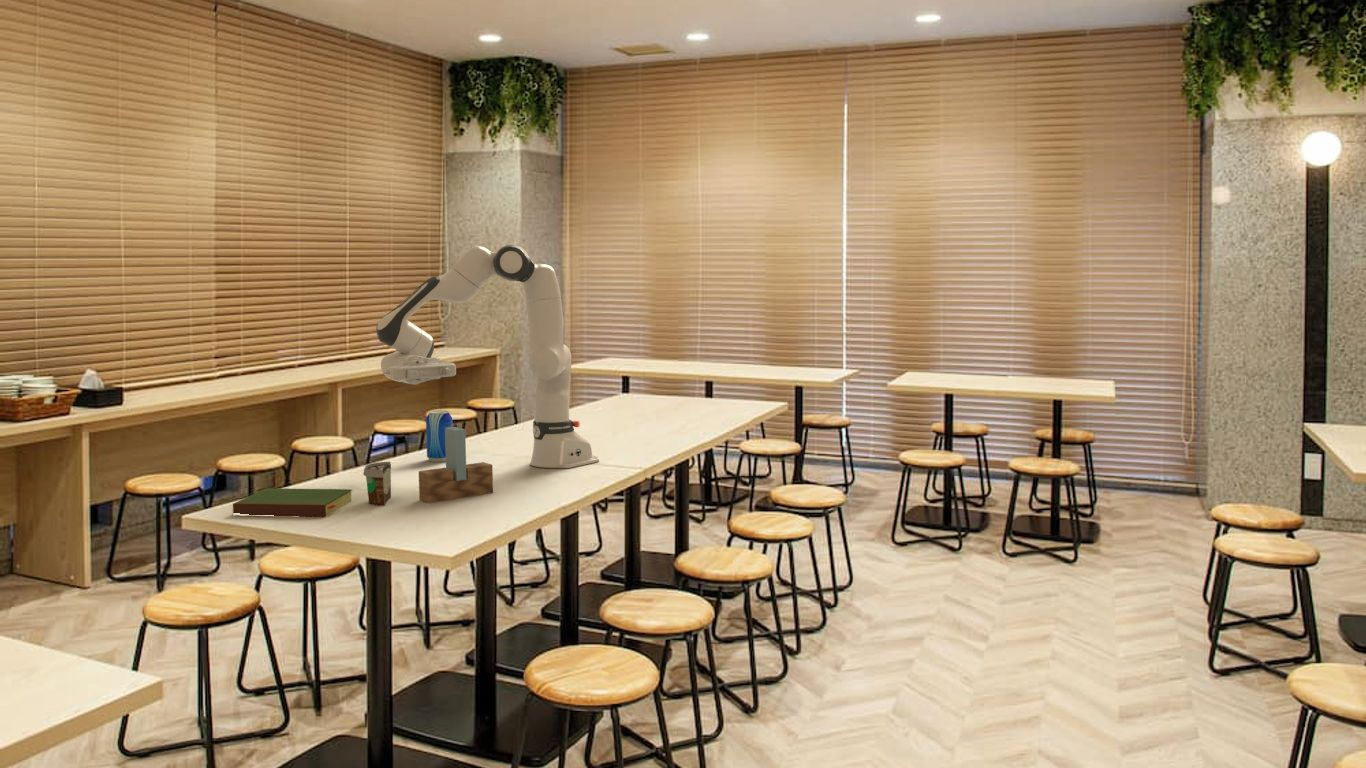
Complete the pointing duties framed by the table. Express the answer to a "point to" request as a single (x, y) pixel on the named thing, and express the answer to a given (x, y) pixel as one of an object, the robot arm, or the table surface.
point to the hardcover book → (293, 502)
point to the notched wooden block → (455, 483)
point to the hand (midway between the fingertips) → (434, 373)
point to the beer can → (437, 434)
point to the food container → (378, 482)
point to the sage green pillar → (456, 452)
